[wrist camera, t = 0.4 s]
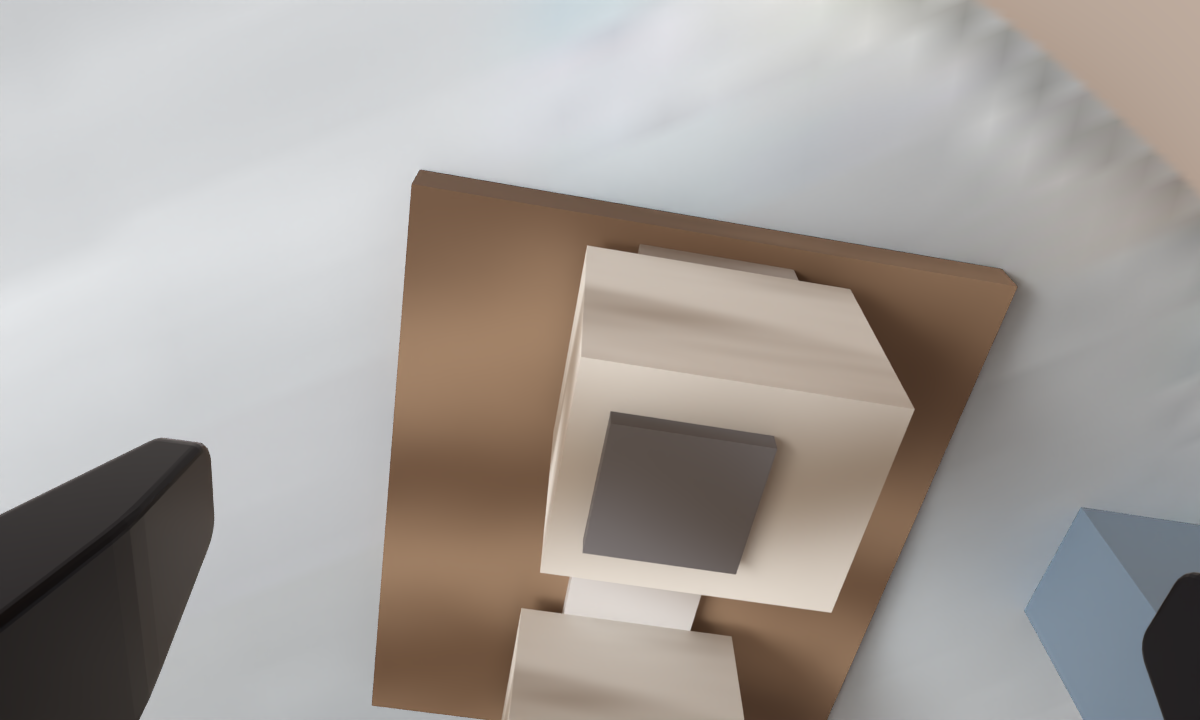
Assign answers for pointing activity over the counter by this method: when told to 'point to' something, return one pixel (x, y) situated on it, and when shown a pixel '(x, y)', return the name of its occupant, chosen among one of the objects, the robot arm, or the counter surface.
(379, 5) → the counter surface
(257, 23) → the counter surface
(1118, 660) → the block
